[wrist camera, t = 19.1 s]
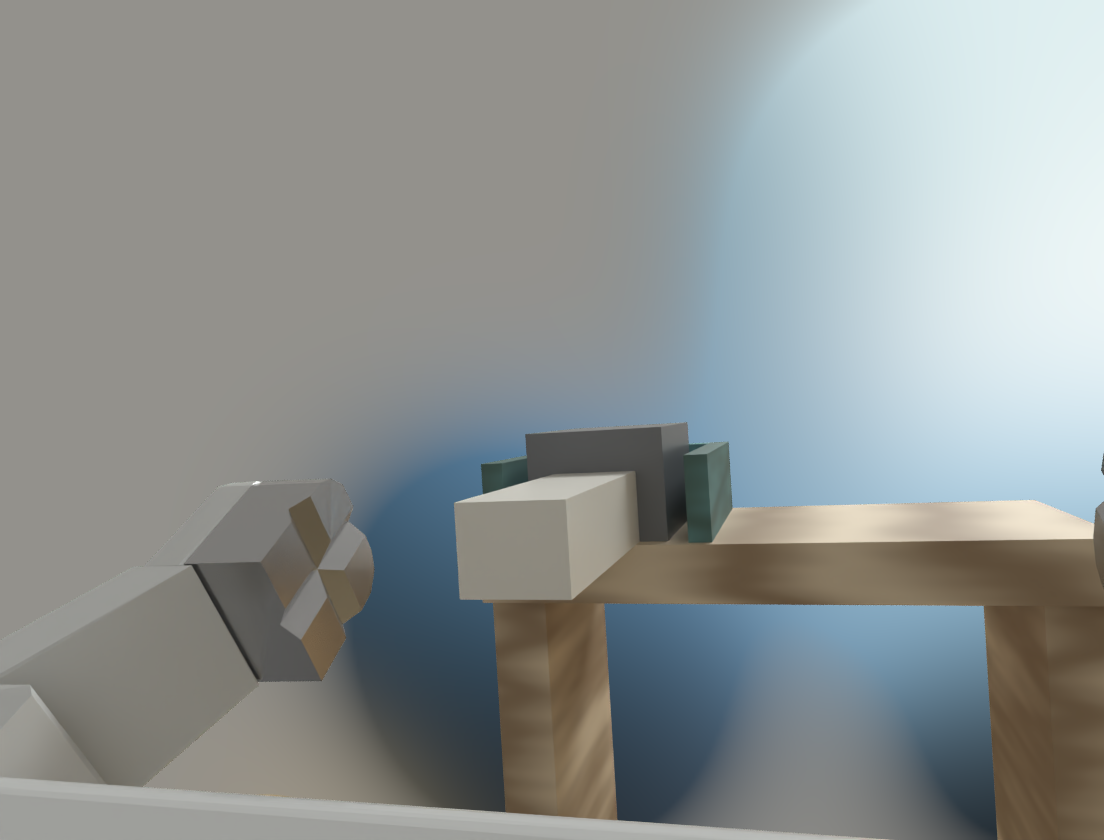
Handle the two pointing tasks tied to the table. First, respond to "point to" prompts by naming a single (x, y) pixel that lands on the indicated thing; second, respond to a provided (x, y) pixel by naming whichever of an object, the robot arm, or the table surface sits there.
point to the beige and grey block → (572, 511)
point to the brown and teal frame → (829, 579)
